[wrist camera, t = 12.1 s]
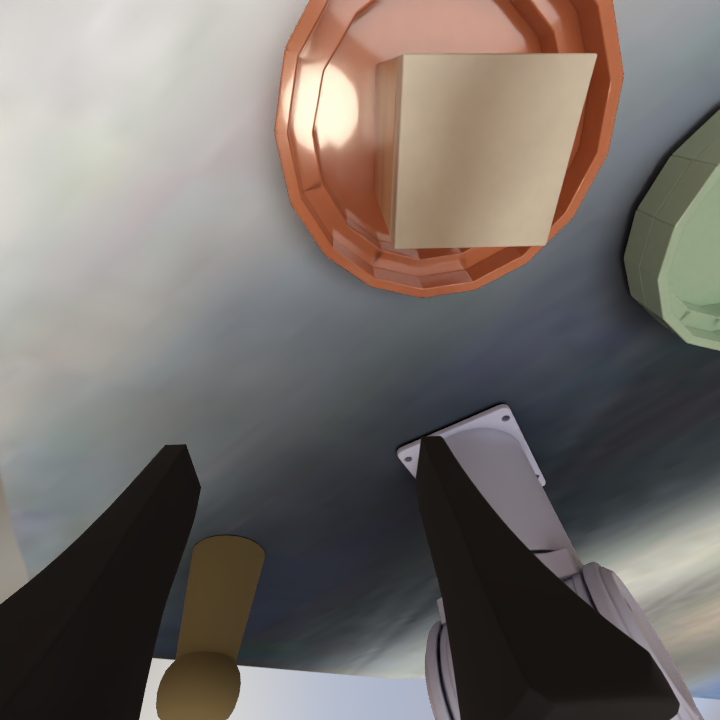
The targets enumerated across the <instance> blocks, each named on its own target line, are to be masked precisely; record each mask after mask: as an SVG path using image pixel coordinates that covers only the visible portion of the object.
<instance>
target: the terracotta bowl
mask: <svg viewBox="0 0 720 720" xmlns="http://www.w3.org/2000/svg"><path fill="white" fill-rule="evenodd" d="M285 48H286V49H285V50H284V58H283V66H282V74H281V82H280V90H279V98H278V106H277V114H276V122H275V130H274V131H275V138H276V142H277V147H278V151H279V156H280V160H281V164H282V169H283V173H284V177H285V182H286V186H287V191H288V195H289V199H290V203H291V205H292V207H293V208H294V210H295V211H296V213H297V214H298V216H299V217H300V219H301V220H302V222H303V223H304V225H305V226H306V228H307V229H308V231H309V232H310V234H311V235H312V237H313V238H314V240H315V241H316V243H317V244H318V246H319V247H320V249H321V250H322V252H323V253H324V254H325V255H326V256H327V257H328V258H330V259H331V260H333V261H334V262H335V263H337V264H338V265H340V266H341V267H343V268H344V269H346V270H347V271H349V272H350V273H351V274H353V275H354V276H356V277H357V278H359V279H360V280H362V281H363V282H364V283H366V284H367V285H369V286H371V287H375V288H380V289H384V290H389V291H393V292H398V293H402V294H407V295H411V296H416V297H420V298H421V297H422V298H423V297H430V296H437V295H444V294H451V293H457V292H464V291H471V290H474V289H478V288H480V287H481V286H483V285H485V284H487V283H489V282H491V281H493V280H495V279H497V278H499V277H501V276H503V275H505V274H507V273H509V272H511V271H512V270H514V269H516V268H518V267H520V266H522V265H524V264H526V263H527V262H528V261H529V260H530V259H531V258H532V257H533V256H534V255H535V254H536V253H537V252H538V251H540V250H541V249H542V248H543V247H544V246H515V247H471V248H427V249H394V247H393V244H392V241H391V238H390V234H389V232H388V229H387V226H386V223H385V221H384V218H383V215H382V212H381V209H380V207H379V204H378V201H377V198H376V196H375V193H374V188H375V125H376V66H377V64H378V63H381V62H384V61H387V60H389V59H392V58H395V57H398V56H400V55H402V54H444V53H596V54H597V58H596V62H595V65H594V69H593V73H592V76H591V80H590V84H589V88H588V91H587V95H586V99H585V102H584V106H583V110H582V114H581V117H580V121H579V125H578V128H577V132H576V136H575V140H574V143H573V147H572V151H571V154H570V158H569V162H568V166H567V169H566V173H565V177H564V180H563V184H562V188H561V192H560V195H559V199H558V203H557V206H556V210H555V214H554V218H553V221H552V225H551V229H550V232H549V236H548V240H547V243H548V242H549V241H550V240H551V239H552V238H553V237H554V236H555V235H556V234H557V233H558V232H559V231H560V230H561V229H562V228H563V227H564V226H565V225H566V224H567V223H568V222H569V221H570V220H571V219H572V217H573V216H574V215H575V213H576V211H577V209H578V207H579V206H580V204H581V202H582V200H583V198H584V197H585V195H586V193H587V191H588V189H589V187H590V186H591V184H592V182H593V180H594V178H595V176H596V175H597V173H598V171H599V169H600V167H601V166H602V164H603V162H604V160H605V158H606V156H607V153H608V151H609V146H610V141H611V137H612V132H613V127H614V122H615V117H616V112H617V107H618V102H619V97H620V92H621V87H622V82H623V75H624V73H623V67H622V60H621V53H620V46H619V40H618V33H617V26H616V20H615V13H614V6H613V0H309V2H308V4H307V6H306V8H305V10H304V12H303V14H302V16H301V18H300V20H299V22H298V24H297V25H296V27H295V29H294V31H293V33H292V35H291V37H290V39H289V41H288V43H287V45H286V47H285Z"/></svg>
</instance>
